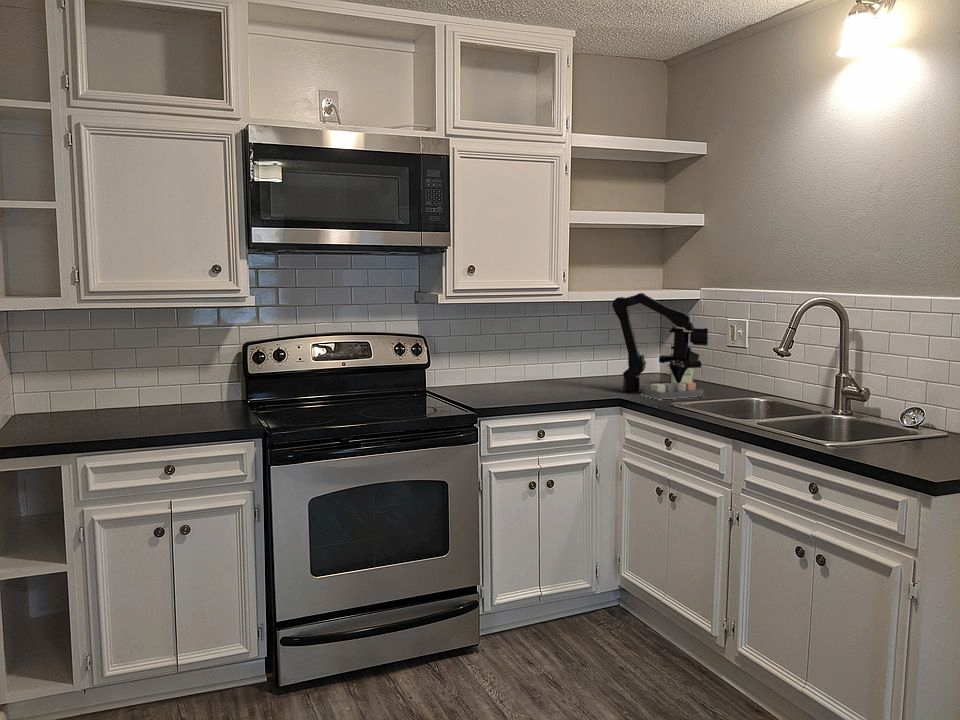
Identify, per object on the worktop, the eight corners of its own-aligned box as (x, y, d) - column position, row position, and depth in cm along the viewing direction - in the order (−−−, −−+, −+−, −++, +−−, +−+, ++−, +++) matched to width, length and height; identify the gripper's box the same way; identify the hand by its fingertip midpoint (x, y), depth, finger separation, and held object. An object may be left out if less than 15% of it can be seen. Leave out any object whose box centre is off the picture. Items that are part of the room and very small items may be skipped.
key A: (650, 391, 311) (651, 384, 310) (658, 391, 312) (658, 383, 312) (657, 393, 307) (657, 385, 307) (665, 392, 309) (665, 385, 309)
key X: (660, 390, 313) (661, 383, 313) (668, 390, 315) (669, 383, 314) (667, 392, 309) (668, 385, 309) (675, 392, 311) (675, 384, 311)
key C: (670, 390, 315) (671, 382, 315) (678, 389, 317) (679, 382, 317) (677, 391, 312) (678, 384, 312) (685, 391, 314) (685, 383, 313)
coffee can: (663, 385, 345) (665, 353, 343) (684, 384, 348) (686, 353, 346) (676, 388, 335) (678, 356, 333) (697, 388, 338) (699, 355, 336)
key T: (680, 389, 318) (681, 382, 317) (688, 389, 320) (688, 382, 319) (687, 391, 314) (688, 383, 314) (695, 390, 316) (695, 383, 316)
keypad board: (640, 395, 313) (640, 388, 313) (686, 393, 324) (686, 385, 324) (658, 400, 303) (659, 392, 303) (705, 397, 314) (705, 389, 314)
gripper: (713, 346, 308) (710, 385, 310) (680, 341, 324) (677, 378, 326) (691, 346, 303) (688, 386, 305) (659, 341, 319) (657, 379, 321)
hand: (678, 382), depth 314 cm, fingers closed
